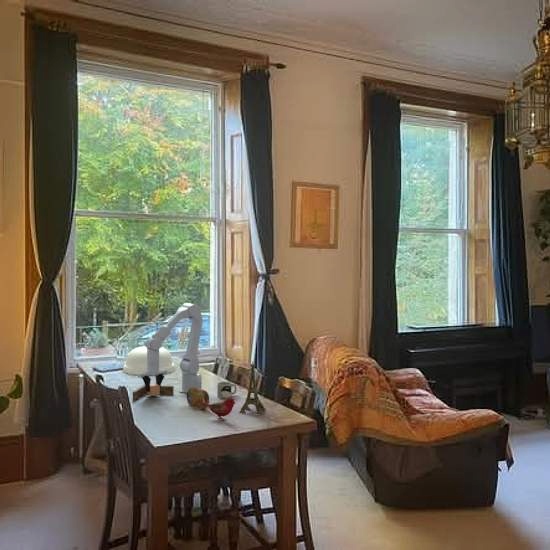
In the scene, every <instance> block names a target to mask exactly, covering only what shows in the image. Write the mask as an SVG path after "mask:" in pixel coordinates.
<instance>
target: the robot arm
mask: <svg viewBox="0 0 550 550" xmlns="http://www.w3.org/2000/svg"><path fill="white" fill-rule="evenodd" d="M183 319H188V320H189V321H190V322H191V324H190V330H189V334H188V340H187V341H188V342H187V345H186V353H185V354H184V355H183V356H182V359H181V361H180V364H179V368H180V370H181V374H182V375H181V390H179V393H183V394H184V393H186V394H187V392H188V390H189V389H190V388H199V389H202V384H203V383H202V379H203V377H202V374H201V373H198V372H199V370H200V359H199V357H198V351H199V344H200V340H201V333H202V327H203V322H204V320H203V316H202V308H201V307H200V306H199V305H198V304H196V303H188V302H183V304H181V306H179V307H178V308H177V311H176V312H175V314H173V316H172V317H170V319H169V321H168V322H167V323H166V324H165V325H161V326H159V327H158V329H157V330H156V332H154V334H152V335H151V337H148V338H147V339H146V341H145V343H144V346H146V348H147V372H142V373H138V375H137V378H139V379H142V381H143V384H144V385H145V386H146V390H147V392H150V384H151V381H152V378H151V377H155V383H156V384H158V385H160V386H161V385H162V383H163V380H164V379H165V375H169V373H168V370H159V349H160V348H161V347H162V344H163V343H164V341H166V340H167V338H168V337H169V336H170V335H172V334H171V333H172V329H173V328H175V326H177V324H179V322H181V321H182V320H183Z"/></svg>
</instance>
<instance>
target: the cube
mask: <svg viewBox="0 0 550 550" xmlns="http://www.w3.org/2000/svg"><path fill="white" fill-rule="evenodd" d="M146 395H147V396H148V395H150V396H153V395H159V396H160V395H161V394H160V385H158V384H156V382H155V383H150V392H147V394H146Z"/></svg>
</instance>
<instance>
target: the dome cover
mask: <svg viewBox="0 0 550 550" xmlns="http://www.w3.org/2000/svg"><path fill="white" fill-rule="evenodd" d="M175 369H176V368H175V363H174V362H173V357H172V355H171V353H170V351H169V350H168V349H167V348H164V347H162V346H161V348H160V349H159V370H168V374H170V373H172V372H171V371H173V370H174V371H175ZM122 371H123V373H124V372H125V373H124V374H126V373H128V374H127V375H131V374H134V375H133V376H138V373H142V372H147V348H146V346H145V345H144V346H138V347H135V348H133V349H132V350H130V352H128V354H127V356H126V361H125V364H124V365H123V369H122ZM174 371H173V372H174ZM169 372H170V373H169Z"/></svg>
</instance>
